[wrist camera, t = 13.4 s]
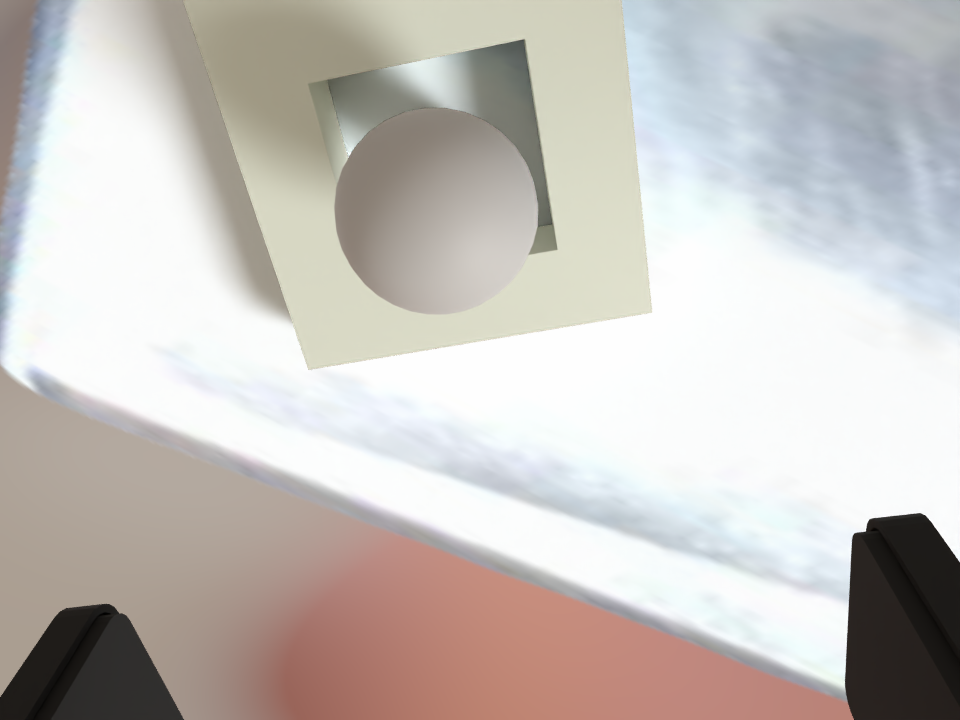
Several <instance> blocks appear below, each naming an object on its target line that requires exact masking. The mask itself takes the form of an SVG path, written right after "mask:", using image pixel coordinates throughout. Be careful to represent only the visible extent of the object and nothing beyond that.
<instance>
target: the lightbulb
mask: <svg viewBox="0 0 960 720" xmlns="http://www.w3.org/2000/svg"><path fill="white" fill-rule="evenodd" d="M334 211H335V222H336V232H337V235H338V238H339V242H340V245H341V248H342V251H343V253H344V255H345V256H346V258H347V260H348V262H349V264H350V266H351V267H352V269H353V270H354V272H355V273H356V274H357V275H358V277H359V278H360V279H361V280H362V281H363V283H364V284H365V285H366V286H367V287H368V288H370V289H371V290H372V291H373V292H374V293H375V294H377V295H378V296H379V297H381V298H383V299H384V300H386V301H388V302H389V303H391V304H393V305H395V306H398V307H400V308H403V309H406V310H408V311H412V312H417V313H423V314H451V313H457V312H462V311H466V310H468V309H471V308H473V307H476V306H479V305H481V304H482V303H484V302H486V301H487V300H489V299H491V298H492V297H494V296H495V295H497V294H498V293H500V292H501V291H502V290H503V289H504V288H505V287H506V286H507V285H508V284H509V283H510V282H512V280H513V279H514V278H515V276H516V275H517V274H518V272H519V271H520V270H521V268H522V267H523V265H524V263H525V261H526V259H527V256H528V254H529V252H530V250H531V248H532V246H533V243H534V239H535V234H536V230H537V226H538V202H537V197H536V191H535V185H534V181H533V178H532V176H531V173H530V171H529V168H528V166H527V163H526V162H525V160H524V158H523V157H522V155H521V154H520V152H519V151H518V149H517V148H516V146H515V145H514V144H513V143H512V142H511V141H510V140H509V139H508V138H507V137H506V136H505V135H504V134H503V133H502V132H501V131H499V130H498V129H497V128H495V127H494V126H492V125H491V124H489V123H488V122H486V121H485V120H483V119H480V118H478V117H476V116H473V115H471V114H468V113H466V112H462V111H457V110H452V109H447V108H421V109H417V110H412V111H407V112H403V113H401V114H398V115H396V116H394V117H392V118H389V119H387V120H385V121H383V122H382V123H381V124H379V125H378V126H376V127H375V128H374V129H372V130H371V131H370V132H368V133H367V134H366V136H365V137H364V138H363V139H362V140H361V141H360V142H359V143H358V144H357V145H356V147H355V148H354V150H353V151H352V153H351V155H350V156H349V158H348V160H347V161H346V163H345V165H344V167H343V168H342V171H341V174H340V177H339V180H338V184H337V187H336V194H335V204H334Z"/></svg>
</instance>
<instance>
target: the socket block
mask: <svg viewBox="0 0 960 720" xmlns="http://www.w3.org/2000/svg"><path fill="white" fill-rule="evenodd" d="M183 3H184V6H185V8H186V11H187V14H188V17H189V20H190V23H191V26H192V29H193V32H194V35H195V38H196V41H197V44H198V47H199V50H200V53H201V55H202V58H203V61H204V64H205V67H206V70H207V73H208V76H209V79H210V82H211V85H212V88H213V91H214V94H215V97H216V100H217V102H218V105H219V108H220V111H221V114H222V117H223V120H224V123H225V126H226V129H227V132H228V135H229V138H230V141H231V144H232V147H233V150H234V152H235V155H236V158H237V161H238V164H239V167H240V170H241V173H242V176H243V179H244V182H245V185H246V188H247V191H248V194H249V197H250V199H251V202H252V205H253V208H254V211H255V214H256V217H257V220H258V223H259V226H260V229H261V232H262V235H263V238H264V241H265V244H266V246H267V249H268V252H269V255H270V258H271V261H272V264H273V267H274V270H275V273H276V276H277V279H278V282H279V285H280V288H281V291H282V293H283V296H284V299H285V302H286V305H287V308H288V311H289V314H290V317H291V320H292V323H293V326H294V329H295V332H296V335H297V338H298V340H299V343H300V346H301V349H302V352H303V355H304V358H305V361H306V364H307V367H308V370H311V369H317V368H323V367H329V366H335V365H341V364H347V363H353V362H359V361H365V360H371V359H377V358H383V357H389V356H395V355H401V354H407V353H413V352H419V351H425V350H431V349H437V348H443V347H449V346H455V345H461V344H467V343H473V342H479V341H485V340H491V339H497V338H503V337H509V336H515V335H521V334H527V333H533V332H539V331H545V330H551V329H557V328H563V327H569V326H575V325H581V324H587V323H593V322H599V321H605V320H611V319H617V318H623V317H629V316H635V315H641V314H647V313H652V306H651V296H650V286H649V275H648V265H647V255H646V245H645V235H644V224H643V214H642V204H641V194H640V184H639V173H638V163H637V153H636V143H635V133H634V122H633V112H632V102H631V92H630V81H629V71H628V61H627V51H626V41H625V30H624V20H623V10H622V0H184V1H183ZM523 39H524V46H525V52H526V58H527V65H528V71H529V78H530V84H531V91H532V97H533V103H534V110H535V116H536V123H537V129H538V136H539V142H540V149H541V155H542V161H543V168H544V174H545V181H546V187H547V194H548V200H549V206H550V213H551V219H552V224H550V225H544V226H539V227H537V230H536V234H535V239H534V243H533V246H532V248H531V250H530V252H529V254H528V256H527V259H526V261H525V263H524V265H523V267H522V268H521V270H520V271H519V272H518V274H517V275H516V276H515V278H514V279H513V280H512V282H510V283H509V284H508V285H507V286H506V287H505V288H504V289H503V290H502V291H501V292H500V293H498V294H497V295H495V296H494V297H492V298H491V299H489V300H487V301H486V302H484V303H482V304H481V305H479V306H476V307H473V308H471V309H468V310H466V311H462V312H457V313H451V314H423V313H417V312H412V311H408V310H406V309H403V308H400V307H398V306H395V305H393V304H391V303H389V302H388V301H386V300H384V299H383V298H381V297H379V296H378V295H377V294H375V293H374V292H373V291H372V290H371V289H370V288H368V287H367V286H366V285H365V284H364V283H363V281H362V280H361V279H360V278H359V277H358V275H357V274H356V273H355V272H354V270H353V269H352V267H351V266H350V264H349V262H348V260H347V258H346V256H345V255H344V253H343V251H342V248H341V245H340V242H339V238H338V235H337V232H336V222H335V211H334V204H335V194H336V187H337V184H338V180H339V177H340V174H341V171H342V168H343V167H344V165H345V163H346V161H347V160H348V155H347V152H346V148H345V144H344V141H343V137H342V133H341V130H340V126H339V122H338V119H337V115H336V111H335V108H334V104H333V100H332V97H331V93H330V89H329V86H328V82H327V80H328V79H333V78H338V77H343V76H348V75H353V74H358V73H362V72H367V71H372V70H377V69H382V68H387V67H392V66H396V65H401V64H406V63H411V62H416V61H421V60H426V59H431V58H435V57H440V56H445V55H450V54H455V53H460V52H465V51H469V50H474V49H479V48H484V47H489V46H494V45H499V44H504V43H508V42H513V41H518V40H523Z"/></svg>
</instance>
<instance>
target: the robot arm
mask: <svg viewBox="0 0 960 720" xmlns="http://www.w3.org/2000/svg"><path fill="white" fill-rule="evenodd" d="M845 689H846V695H847V700H848V704H849V707H850V711H851V713H852V716H853V718H854V720H960V562H959V561H958V559H957V558H956V556H955V555H954V554H953V552H952V551H951V549H950V548H949V547H948V545H947V544H946V542H945V541H944V539H943V538H942V537H941V535H940V534H939V532H938V531H937V530H936V528H935V527H934V525H933V524H932V523H931V521H930V520H929V519H928V518H927V517H926V516H925V515H923V514H921V513H917V514H908V515H899V516H890V517H881V518H873V519H870V520H869V521H868V523H867V528H866V532H859V533H854V535H853V538H852V551H851V572H850V592H849V613H848V633H847V653H846V674H845ZM0 720H184V719H183V717H182V715H181V713H180V711H179V710H178V708H177V706H176V704H175V702H174V701H173V699H172V697H171V695H170V693H169V691H168V689H167V688H166V686H165V684H164V682H163V680H162V678H161V677H160V675H159V673H158V671H157V669H156V667H155V666H154V664H153V662H152V660H151V658H150V656H149V655H148V653H147V651H146V649H145V647H144V645H143V644H142V642H141V640H140V638H139V636H138V635H137V633H136V631H135V629H134V627H133V625H132V623H131V622H130V620H129V619H128V617H127V616H126V615H124V614H119V612H118V611H117V610H116V609H115V607H113V606H112V605H110V604H101V605H91V606H82V607H74V608H66V609H64V610H62V611H60V612H59V613H58V614H57V615H56V617H55V618H54V619H53V621H52V622H51V623H50V625H49V626H48V628H47V629H46V631H45V632H44V634H43V635H42V637H41V638H40V640H39V641H38V643H37V644H36V646H35V647H34V648H33V650H32V651H31V653H30V654H29V656H28V657H27V659H26V660H25V662H24V663H23V665H22V666H21V668H20V669H19V670H18V672H17V673H16V675H15V677H14V678H13V679H12V681H11V682H10V684H9V685H8V687H7V688H6V690H5V691H4V693H3V694H2V695H1V697H0Z"/></svg>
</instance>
